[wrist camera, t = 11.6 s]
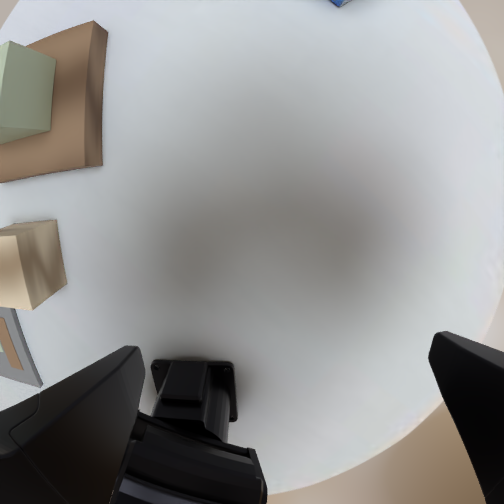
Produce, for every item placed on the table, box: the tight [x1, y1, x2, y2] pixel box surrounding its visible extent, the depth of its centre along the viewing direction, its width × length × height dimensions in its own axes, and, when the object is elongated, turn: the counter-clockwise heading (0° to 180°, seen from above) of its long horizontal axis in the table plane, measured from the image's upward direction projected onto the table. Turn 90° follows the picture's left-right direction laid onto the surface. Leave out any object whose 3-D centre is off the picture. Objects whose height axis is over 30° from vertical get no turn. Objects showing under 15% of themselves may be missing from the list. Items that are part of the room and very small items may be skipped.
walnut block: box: [0, 20, 108, 183], centre depth 16 cm, size 10×10×3 cm
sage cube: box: [0, 41, 56, 144], centre depth 12 cm, size 5×5×5 cm
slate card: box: [0, 307, 43, 388], centre depth 22 cm, size 10×8×1 cm
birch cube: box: [0, 220, 67, 311], centre depth 18 cm, size 5×5×5 cm
